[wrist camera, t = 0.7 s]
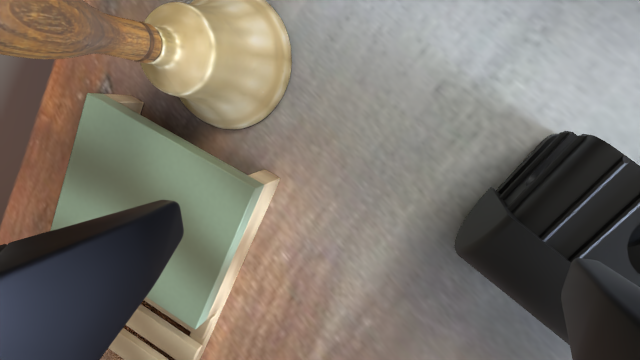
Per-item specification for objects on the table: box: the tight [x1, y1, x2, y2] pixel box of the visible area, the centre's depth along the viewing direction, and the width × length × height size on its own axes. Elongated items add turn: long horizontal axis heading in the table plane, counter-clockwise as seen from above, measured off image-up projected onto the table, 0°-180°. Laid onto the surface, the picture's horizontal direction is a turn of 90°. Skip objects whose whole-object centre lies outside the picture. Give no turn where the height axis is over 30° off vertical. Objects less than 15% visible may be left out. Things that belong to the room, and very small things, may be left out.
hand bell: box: [0, 0, 292, 129], centre depth 17 cm, size 8×8×16 cm
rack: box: [50, 93, 280, 360], centre depth 27 cm, size 18×12×4 cm, turn 154°
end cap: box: [454, 131, 640, 345], centre depth 17 cm, size 10×7×7 cm
